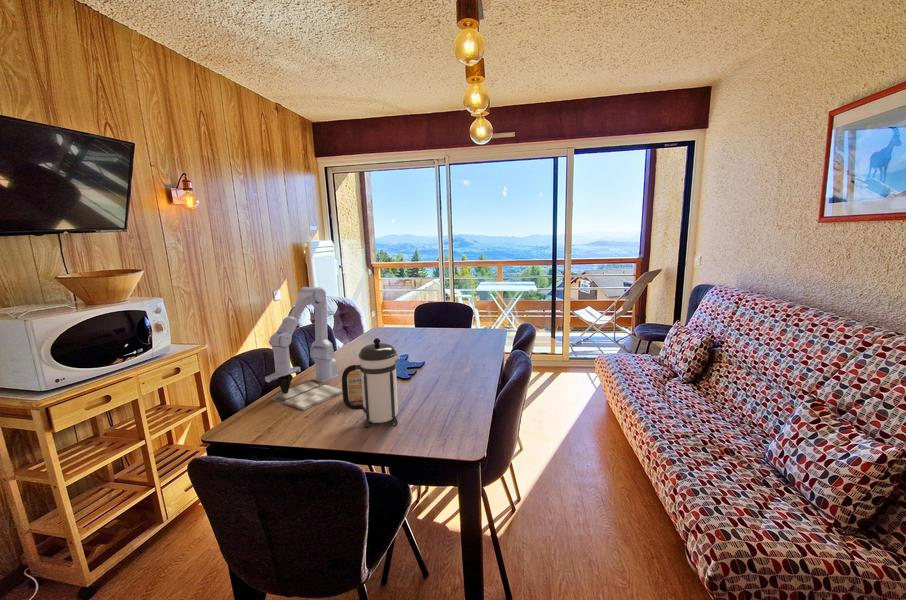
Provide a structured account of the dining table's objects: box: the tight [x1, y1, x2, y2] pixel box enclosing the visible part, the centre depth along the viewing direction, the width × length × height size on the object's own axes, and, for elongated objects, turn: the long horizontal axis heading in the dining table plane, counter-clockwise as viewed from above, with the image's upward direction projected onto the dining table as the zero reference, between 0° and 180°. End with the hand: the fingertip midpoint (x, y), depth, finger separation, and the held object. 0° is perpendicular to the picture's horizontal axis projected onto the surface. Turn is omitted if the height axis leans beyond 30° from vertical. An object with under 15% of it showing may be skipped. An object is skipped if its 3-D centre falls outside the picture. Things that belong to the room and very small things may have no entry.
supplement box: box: [347, 369, 363, 403], centre depth 147 cm, size 8×5×13 cm, turn 106°
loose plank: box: [275, 380, 320, 401], centre depth 155 cm, size 16×7×1 cm, turn 148°
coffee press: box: [341, 337, 401, 429], centre depth 127 cm, size 17×16×30 cm
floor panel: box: [270, 384, 343, 412], centre depth 151 cm, size 20×22×2 cm
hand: (285, 393), depth 151 cm, fingers closed, pressing on loose plank
